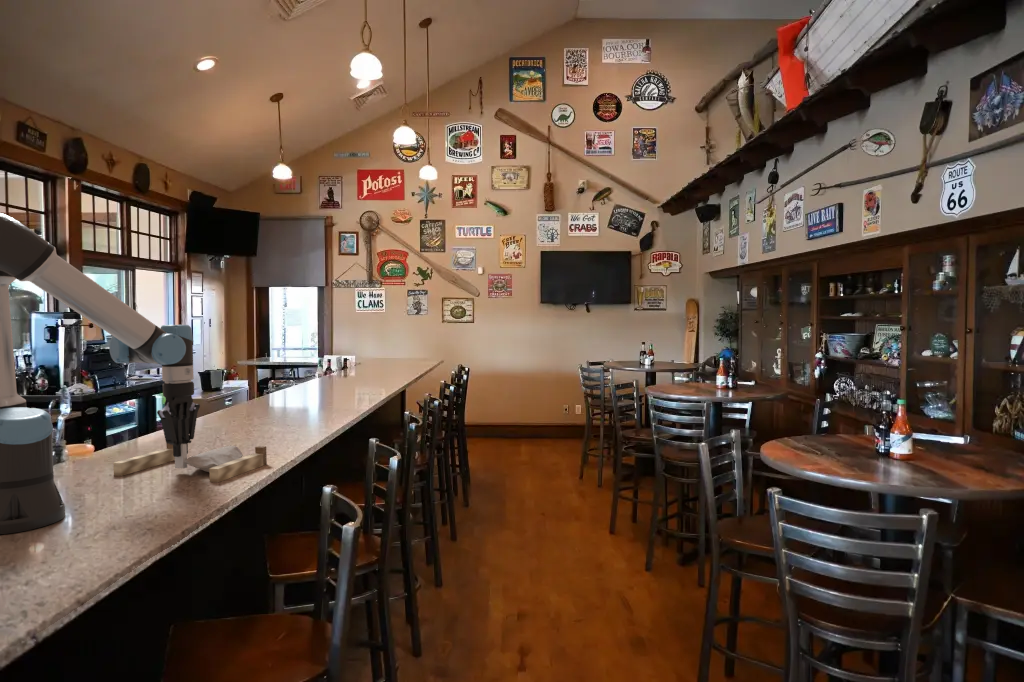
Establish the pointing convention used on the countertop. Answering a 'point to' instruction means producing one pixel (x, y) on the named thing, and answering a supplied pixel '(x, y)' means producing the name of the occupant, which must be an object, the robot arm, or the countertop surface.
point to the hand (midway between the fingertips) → (181, 467)
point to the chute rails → (216, 472)
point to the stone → (214, 457)
